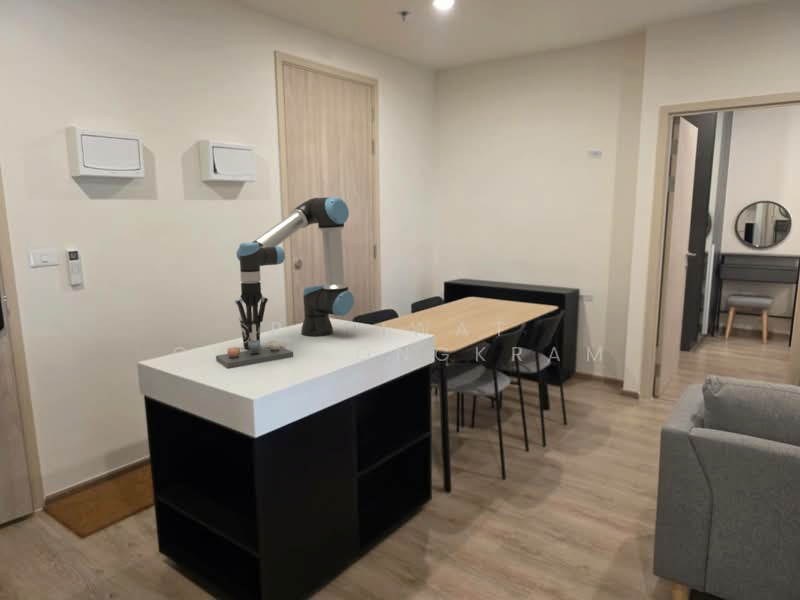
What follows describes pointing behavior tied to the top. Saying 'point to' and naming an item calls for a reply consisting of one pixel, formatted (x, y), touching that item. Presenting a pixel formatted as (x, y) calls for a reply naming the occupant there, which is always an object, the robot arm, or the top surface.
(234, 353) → the button terracotta
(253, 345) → the button blue
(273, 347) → the button cream
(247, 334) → the coffee cup
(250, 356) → the panel
